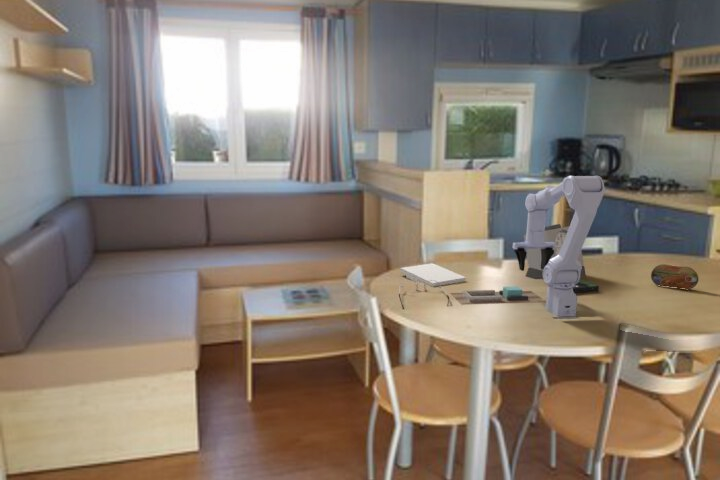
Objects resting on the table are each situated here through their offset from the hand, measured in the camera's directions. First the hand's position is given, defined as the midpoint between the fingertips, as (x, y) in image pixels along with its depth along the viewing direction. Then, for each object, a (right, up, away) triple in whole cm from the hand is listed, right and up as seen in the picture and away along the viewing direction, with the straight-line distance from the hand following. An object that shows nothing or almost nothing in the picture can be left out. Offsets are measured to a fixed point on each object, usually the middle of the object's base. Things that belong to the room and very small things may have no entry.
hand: (532, 269), depth 190 cm
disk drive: (+18, -8, +12) cm, 23 cm away
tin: (+56, -8, +17) cm, 59 cm away
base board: (-12, -10, -3) cm, 16 cm away
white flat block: (-31, -5, +20) cm, 38 cm away
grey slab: (-18, -9, -4) cm, 21 cm away
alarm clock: (+17, -4, +29) cm, 34 cm away
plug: (-7, -9, -2) cm, 12 cm away
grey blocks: (-7, -9, -2) cm, 12 cm away
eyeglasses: (-37, -10, -5) cm, 39 cm away
